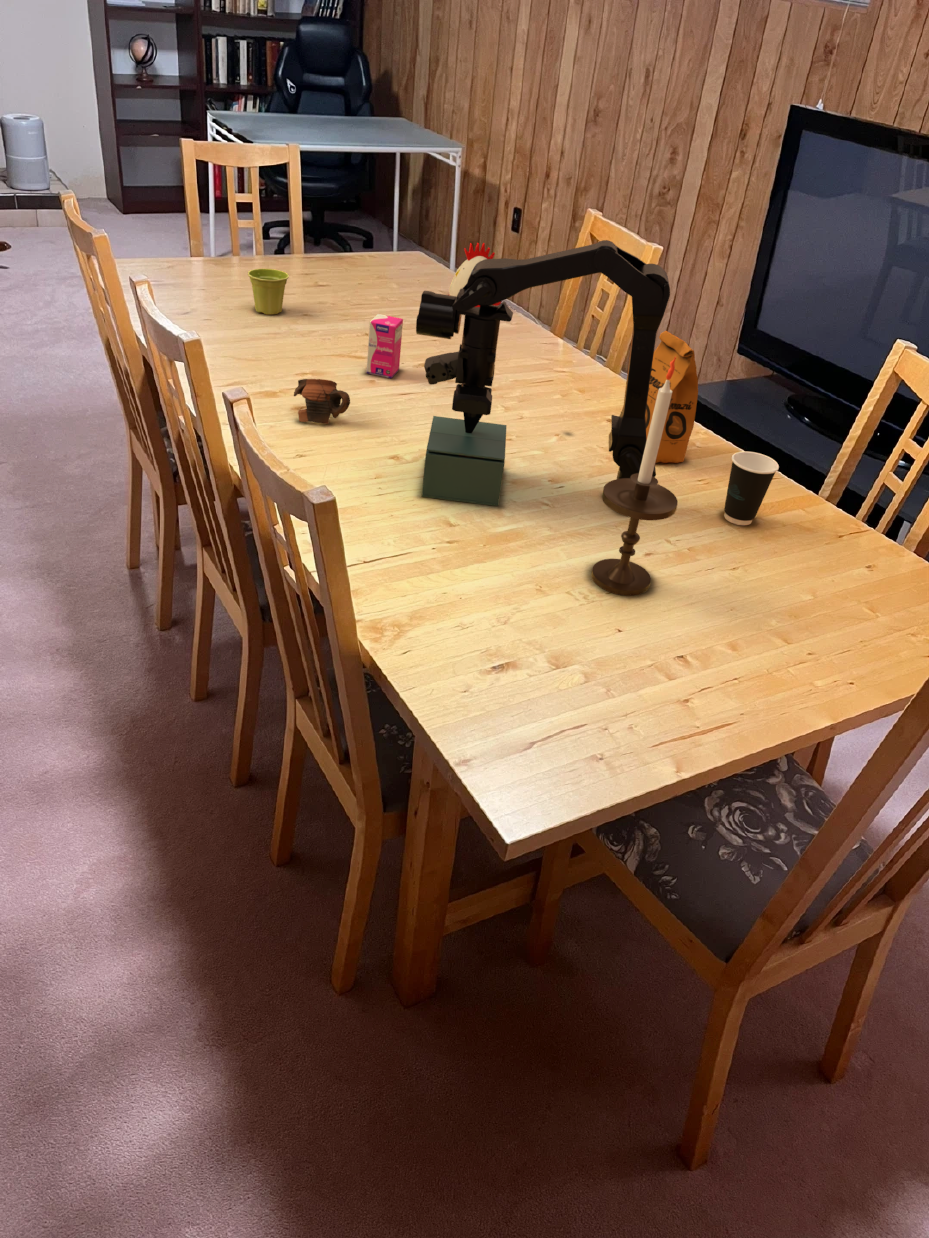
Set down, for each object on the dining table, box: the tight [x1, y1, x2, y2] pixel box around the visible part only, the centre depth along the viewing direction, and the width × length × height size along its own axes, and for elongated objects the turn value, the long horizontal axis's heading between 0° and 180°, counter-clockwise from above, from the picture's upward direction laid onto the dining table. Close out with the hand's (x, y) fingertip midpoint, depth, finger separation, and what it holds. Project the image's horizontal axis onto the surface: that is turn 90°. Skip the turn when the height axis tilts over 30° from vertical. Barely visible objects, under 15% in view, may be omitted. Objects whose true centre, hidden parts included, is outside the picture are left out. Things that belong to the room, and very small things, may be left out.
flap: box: [429, 415, 508, 443], centre depth 168 cm, size 13×7×1 cm, turn 87°
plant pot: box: [247, 268, 290, 315], centre depth 231 cm, size 9×9×9 cm
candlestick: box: [590, 357, 679, 597], centre depth 140 cm, size 11×11×35 cm
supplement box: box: [365, 313, 404, 379], centre depth 206 cm, size 6×6×12 cm
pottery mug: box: [293, 378, 351, 425], centre depth 186 cm, size 12×10×8 cm
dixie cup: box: [723, 450, 780, 526], centre depth 168 cm, size 8×8×11 cm
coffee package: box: [645, 330, 699, 464], centre depth 185 cm, size 10×12×22 cm
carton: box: [421, 431, 507, 507], centre depth 168 cm, size 13×14×9 cm
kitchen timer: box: [448, 242, 502, 307], centre depth 253 cm, size 14×14×15 cm
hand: (468, 432), depth 167 cm, fingers closed, pressing on flap
